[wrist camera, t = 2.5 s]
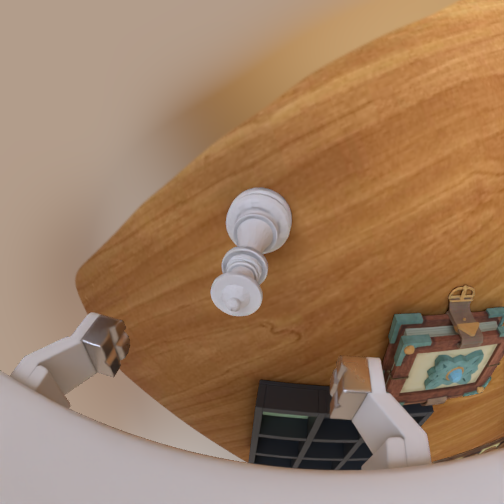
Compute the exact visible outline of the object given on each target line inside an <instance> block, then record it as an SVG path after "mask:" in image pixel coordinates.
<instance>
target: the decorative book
mask: <svg viewBox="0 0 504 504" xmlns="http://www.w3.org/2000/svg"><path fill="white" fill-rule="evenodd" d="M457 290H463V291H462V294H461V295H455V296H452V295H453V293H454V292H455V291H457ZM467 290H472V295H466V292H467ZM474 295H475V290H474V289H473V288H472V287H467V286H463V287H457V288H455V289H454V290H452V292H451V293H450V294H449V297H448V298H449V301H450V303H449V311H447V312H446V313H445V314H444V315H427V316H422V315H421V313H412V314H394V318H393V322H392V325H391V329H390V332H389V336H388V337H389V345H388V348H387V351H386V354H385V357H384V360H383V363H382V370H383V375H384V381H385V387H386V393H390V394H391V395H392V396H393V397H394V398H395V399H396V400H397V401H398V402H399V404H400V405H401V406H403V405H408V404H417V403H420V404H421V406H429V405H435V404H442V403H444V402H445V401H446V399H450V398H456V397H461V396H463V397H464V396H469V395H474V394H478V393H482V391H483V390H484V389H485V387H486V386H487V384H488V383H489V381H490V380H491V375H492V373H493V372H494V370H495V368H496V367H497V365H499V364H500V363H499V362H500V360H501V359H502V357H503V355H504V326H502V324H503V322H504V307H498V308H488V309H486V311H482V312H471V311H470V302H471V301H472V300H473V298H472V297H474Z"/></svg>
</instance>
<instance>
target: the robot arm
mask: <svg viewBox="0 0 504 504" xmlns="http://www.w3.org/2000/svg"><path fill="white" fill-rule="evenodd" d="M125 329H126V326H125V323H124V321H122V320H118V319H115V318H111V317H108V316H104V315H100V314H97V313H94V312H91V313H89V314H88V315H87V316H86V318H85V319H84V320H83V321H82V323H81V324H80V325H79V327H78V328H77V329H76V330H75V331H74V333H73V334H72V335H71V337H65V338H63V339H61V340H59V341H56V342H54V343H52V344H50V345H48V346H46V347H44V348H41V349H39V350H38V351H35V352H33V353H31V354H29V355H26V356H25V357H24V358H23V359H22V360H21V362H20V363H19V364H18V366H17V367H16V368H15V370H14V371H13V372H12V374H11V375H10V376H9V375H7V374H5V373H4V372H2V371H1V370H0V504H504V448H500V449H497V450H493V451H490V452H486V453H482V454H478V455H474V456H470V457H465V458H461V459H456V460H450V461H445V462H439V463H433V464H432V463H431V456H430V449H429V443H428V437H427V433H426V432H425V431H424V430H423V429H422V428H421V427H420V426H419V425H418V424H417V422H416V421H415V420H414V419H413V418H412V417H411V416H410V415H409V414H408V412H407V411H406V410H405V409H404V408H403V407H402V406H401V405H400V404H399V402H398V401H397V400H396V399H395V398H394V397H393V396H392V395H391V394H390V393H386V387H385V381H384V375H383V370H382V364H381V360H380V358H374V357H357V356H341V355H340V356H339V357H338V359H337V362H336V366H337V368H336V369H334V370H333V373H332V376H331V380H330V395H331V396H332V399H331V402H330V418H331V419H346V420H352V422H353V424H354V425H355V427H356V429H357V430H358V432H359V433H360V435H361V436H362V438H363V440H364V441H365V443H366V444H367V446H368V447H369V449H370V451H371V452H372V454H373V455H372V456H371V457H370V458H369V459H368V460H367V461H366V462H365V463H364V464H363V465H362V466H361V470H314V469H298V468H286V467H276V466H267V465H259V464H252V463H246V462H239V461H234V460H228V459H223V458H217V457H213V456H208V455H203V454H199V453H194V452H190V451H186V450H182V449H178V448H175V447H171V446H168V445H164V444H161V443H158V442H154V441H151V440H148V439H145V438H142V437H139V436H136V435H133V434H130V433H127V432H124V431H122V430H119V429H116V428H114V427H111V426H108V425H106V424H103V423H101V422H98V421H96V420H94V419H91V418H89V417H87V416H84V415H82V414H80V413H77V412H75V411H73V410H71V409H69V407H70V403H69V401H68V400H67V398H66V397H65V396H64V395H65V394H67V393H68V392H70V391H71V390H73V389H74V388H75V387H77V386H79V385H80V384H82V383H83V382H84V381H86V380H87V379H89V378H90V377H92V376H93V375H95V374H96V373H97V372H98V373H101V374H104V375H107V376H111V377H114V376H115V374H116V373H117V371H118V370H119V368H120V366H121V364H120V360H122V359H124V358H125V357H126V356H127V354H128V352H129V348H130V339H129V336H128V335H127V334H126V332H125V331H124V330H125Z"/></svg>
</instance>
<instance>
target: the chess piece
mask: <svg viewBox="0 0 504 504" xmlns="http://www.w3.org/2000/svg"><path fill="white" fill-rule="evenodd" d="M291 225H292V214H291V210H290V207H289V205H288V204H287V202H286V200H285V199H284V198H283V197H282V196H281V195H279V194H278V193H276V192H274V191H272V190H270V189H266V188H252V189H249V190H246V191H244V192H242V193H241V194H239V195H238V196H237V197H236V198H235V199H234V201H233V202H232V204H231V206H230V208H229V211H228V213H227V218H226V228H227V232H228V234H229V236H230V238H231V239H232V241H233V242H234V243H235V244H236V245H237V246H238V247H234V248H232V249H231V250H229V251H228V252H227V253H226V254H225V256H224V258H223V261H222V272H223V274H222V275H220V276H218V277H217V278H216V279H215V280H214V282H213V284H212V286H211V298H212V300H213V302H214V304H215V305H216V306H217V307H218V308H219V309H220V310H222V311H223V312H225V313H227V314H229V315H233V316H246V315H249V314H252V313H254V312H255V311H256V310H257V309H258V308H259V306H260V305H261V302H262V298H263V294H262V290H261V287H260V284H261V283H262V282H263V281H264V280H265V278H266V276H267V273H268V263H267V260H266V258H265V257H264V255H263V254H265V253H270V252H273V251H275V250H277V249H278V248H280V247H281V246H282V245H283V244H284V243H285V241H286V240H287V238H288V236H289V233H290V229H291Z"/></svg>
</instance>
